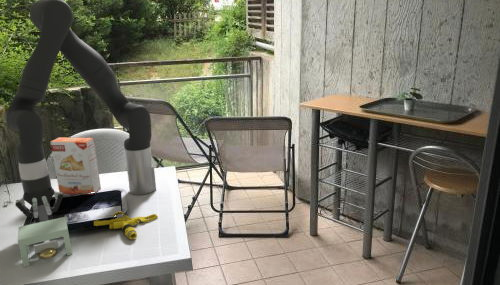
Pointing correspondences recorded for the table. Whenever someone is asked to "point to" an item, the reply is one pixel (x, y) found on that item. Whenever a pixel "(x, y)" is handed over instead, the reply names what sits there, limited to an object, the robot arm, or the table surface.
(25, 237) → the footstool
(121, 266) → the table surface
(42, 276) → the table surface
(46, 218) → the block
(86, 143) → the cracker box
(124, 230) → the sprinkler
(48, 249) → the token
